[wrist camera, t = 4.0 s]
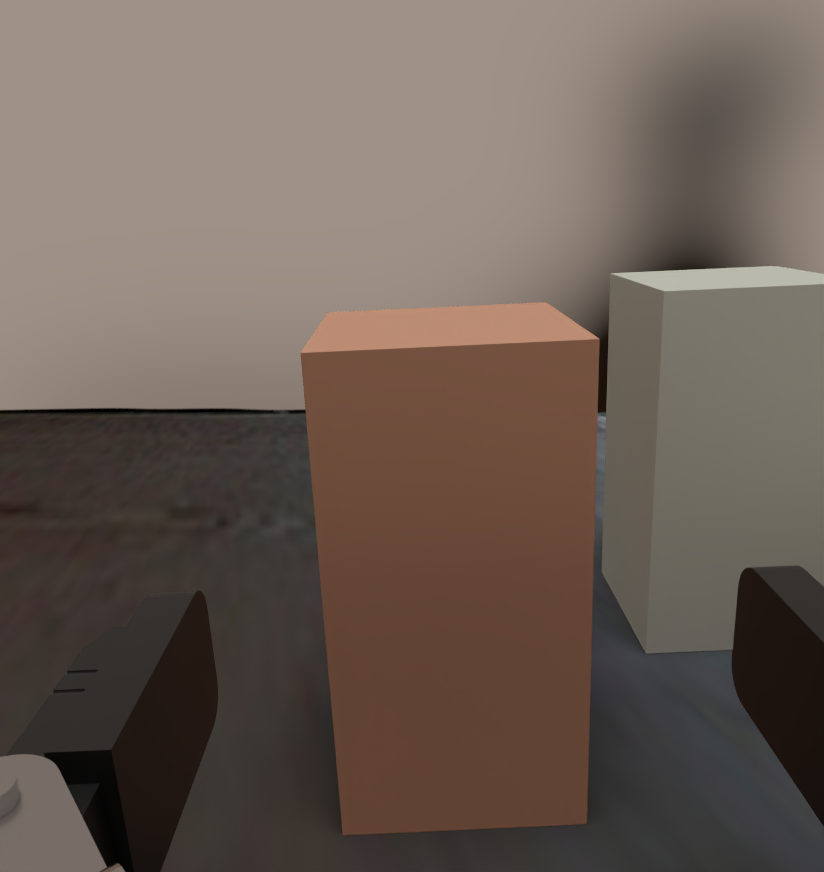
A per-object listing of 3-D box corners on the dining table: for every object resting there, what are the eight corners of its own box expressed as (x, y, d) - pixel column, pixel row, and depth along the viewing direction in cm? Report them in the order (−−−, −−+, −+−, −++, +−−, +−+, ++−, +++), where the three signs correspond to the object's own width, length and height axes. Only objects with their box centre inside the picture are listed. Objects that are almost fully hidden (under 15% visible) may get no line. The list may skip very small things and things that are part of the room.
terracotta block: (343, 835, 16) (300, 353, 13) (356, 688, 21) (327, 312, 18) (586, 824, 16) (599, 339, 13) (544, 679, 21) (545, 302, 18)
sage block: (645, 653, 22) (664, 291, 19) (601, 572, 26) (610, 273, 23) (825, 645, 22) (871, 281, 19) (748, 565, 26) (775, 265, 23)
